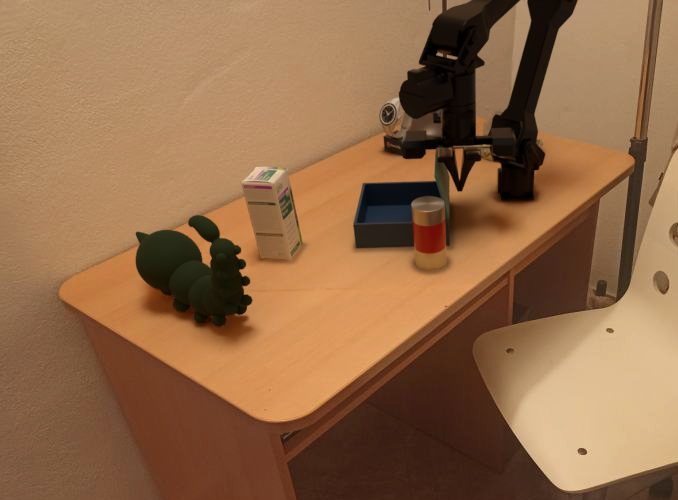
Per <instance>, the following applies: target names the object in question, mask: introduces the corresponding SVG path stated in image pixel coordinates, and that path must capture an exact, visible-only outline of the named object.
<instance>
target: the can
mask: <svg viewBox="0 0 678 500" xmlns="http://www.w3.org/2000/svg"><path fill="white" fill-rule="evenodd" d="M411 208H412V224H413V238H414V247H413V248H414V249H413V250H414V262H415V265H416V267H418V268H419V269H421V270H425V271H435V270H438V269H439V270H440V269H441V268H443V267H445V266H446V264H447V261H448V260H447V259H448V257H447V246H446V226H445V203H444V201H443V200H442V199H441V198H438V197H434V196H425V197H420V198H417V199H415V200H414V201H413V202H412V204H411Z"/></svg>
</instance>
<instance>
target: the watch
mask: <svg viewBox="0 0 678 500" xmlns="http://www.w3.org/2000/svg"><path fill="white" fill-rule="evenodd" d="M400 109H401V104H400V100H399V97H392V98H391V99H389V100H388V101H387V102H386V103H384V104H383V105H382V106H381V108H380V110H379V114H378V118H379V123H380V125H381V128H382V130H383V131H384V133H385V135H383V147H384V148H383V149H384V151H387V152H389V153H394V154H396V155H399V156H402V157H403V155H402V140H403V134H404V133H405V132H406V131H411V127H412V124H413V120H414V119H413V118H411V117H409V116H408V115H407V114H406V113H405V111H403V116H401V110H400ZM401 119H402V120H401ZM400 120H401V123H400V129H399V130H398V129H396V130H395V128H396V125H397V124H398V122H399V121H400Z"/></svg>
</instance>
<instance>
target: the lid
mask: <svg viewBox="0 0 678 500" xmlns="http://www.w3.org/2000/svg"><path fill="white" fill-rule="evenodd" d="M437 153H438V152H437V149H435V154H434V155H435V156H434V175H433V177H434V179H435V180H434V181H436V183H437V187H438V190H439V193H440V197H441V199H442V200H443V201H444V203H445V213H446V216H447V218H449V219H450V184H451V183H450V180H451V179H450V177H451V176H450V173H449V171H448V169H447V168H446V166H445V165H444V163H439V162H438V161H437Z"/></svg>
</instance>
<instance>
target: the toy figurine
mask: <svg viewBox="0 0 678 500" xmlns="http://www.w3.org/2000/svg"><path fill="white" fill-rule="evenodd" d="M187 225H188V227H190V228H193V229H194V230H195V232H196V233H197V234H198V235H199V236H200V237H201V238H202V240H204V241H206V242H208V243H211V244H210V246H209V255H210V257H211V259H210V261H209V265H208V264H206V263H205V262H203V255H202V251H201V250H200V247H199V246H198V244H197V243H196V242H195V241H194V240H193V239H192V238H191V237H189V236H188V235H186V234H185V233H184V232H181V231H177V230H173V229H160V230H156V231H153V232H152V233H150V234H149V233H146V232H142V231H135V236H136V239H137V241H138V243H139V245H138V247H137V250H136V253H135V268H136V270H137V272H138V275H139V277H140V278H141V279H142V280H143V281H144V282H145V283H146V284H147V285H148V286H149V287H151V288H153V289H155V290H157V291H159V292H161V293H162V294H163V295H165V296H173V297H174V298H173V301H172V307H173V308H174V309H175V311H176V312H179V313H186V312H187V311H189V310H190V308H192V309H193V311H194V313H193V314H192V319H193V321H194V322H195V323H196V324H198V325H201V324H205V323H206V322H207V321H209V320H208V319H209V317H211V324H212V325H213V326H214V327H216V328H222V327H224V326H226V322H227V317H229V316H234V315H235V314H236V315H237V316H242V315H244V314H246V312H247V310H248V307H249V306H250V305H252V304H253V297H252V296H251V295H249V293H246V294H245V289H244V287H247V286H249V285H250V284H251V278H250V277H249V276H248V275H243V274H242V272H241V271H242V270H244V269H246V267H247V261H246V260H244V258H239V257H238V255H240V254H241V253H242V247H241V246H240V245H239V244H235V243H234V242H233V241H232V240H231V239H228V238H225V237H221V232H220V229H219V226H218V225H217V224H216V223H215V222H214V221H213V220H212V219H210V218H208V217H207V216H205V215H201V214H195V215H192V216H191V217H189V219H188V221H187Z"/></svg>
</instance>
